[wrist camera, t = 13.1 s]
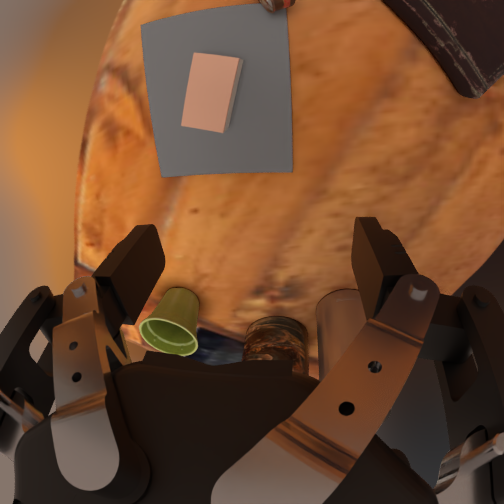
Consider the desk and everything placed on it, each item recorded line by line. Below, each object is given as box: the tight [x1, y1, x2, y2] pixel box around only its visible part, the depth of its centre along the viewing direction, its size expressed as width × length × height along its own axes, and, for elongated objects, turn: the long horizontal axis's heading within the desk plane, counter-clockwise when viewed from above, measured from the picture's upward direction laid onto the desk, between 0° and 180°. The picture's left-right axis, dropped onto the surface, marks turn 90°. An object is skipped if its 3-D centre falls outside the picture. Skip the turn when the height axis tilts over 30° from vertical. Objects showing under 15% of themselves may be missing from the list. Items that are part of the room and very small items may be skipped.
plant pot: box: [139, 288, 199, 356], centre depth 43 cm, size 9×9×9 cm
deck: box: [181, 53, 243, 133], centre depth 25 cm, size 4×8×3 cm, turn 168°
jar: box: [242, 317, 309, 376], centre depth 44 cm, size 12×12×15 cm
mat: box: [141, 3, 293, 177], centre depth 26 cm, size 20×16×1 cm
